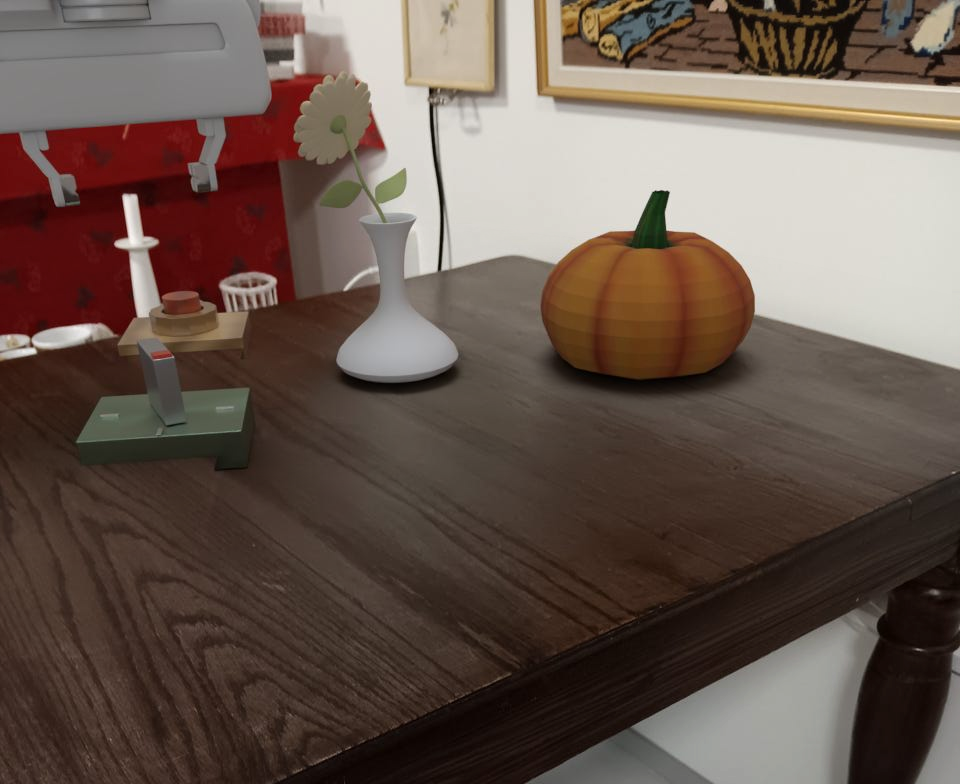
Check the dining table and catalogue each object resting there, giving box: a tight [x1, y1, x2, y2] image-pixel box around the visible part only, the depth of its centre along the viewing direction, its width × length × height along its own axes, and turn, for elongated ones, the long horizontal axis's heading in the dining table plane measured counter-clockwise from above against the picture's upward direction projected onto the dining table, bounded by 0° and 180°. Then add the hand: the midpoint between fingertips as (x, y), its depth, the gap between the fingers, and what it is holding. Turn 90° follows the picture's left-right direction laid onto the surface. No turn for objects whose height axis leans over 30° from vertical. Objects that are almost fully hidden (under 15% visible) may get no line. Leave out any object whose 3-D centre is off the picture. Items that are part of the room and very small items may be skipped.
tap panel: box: [75, 387, 256, 471], centre depth 78 cm, size 12×10×3 cm
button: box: [161, 290, 201, 315], centre depth 100 cm, size 4×4×2 cm
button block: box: [116, 300, 253, 360], centre depth 101 cm, size 12×10×4 cm
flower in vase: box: [292, 70, 459, 384], centre depth 86 cm, size 13×11×25 cm
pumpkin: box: [540, 189, 756, 381], centre depth 91 cm, size 19×19×15 cm
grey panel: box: [137, 337, 187, 425], centre depth 76 cm, size 6×2×5 cm, turn 28°
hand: (138, 197), depth 69 cm, fingers open, 8 cm apart
